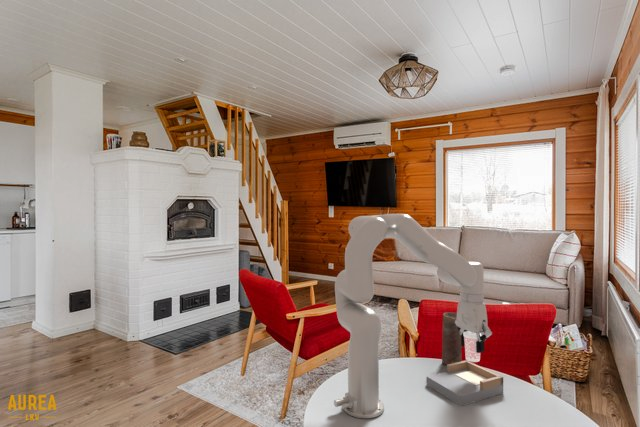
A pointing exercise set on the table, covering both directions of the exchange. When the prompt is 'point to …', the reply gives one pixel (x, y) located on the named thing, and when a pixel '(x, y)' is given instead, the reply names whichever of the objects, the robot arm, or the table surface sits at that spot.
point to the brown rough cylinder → (451, 340)
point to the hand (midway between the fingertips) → (472, 348)
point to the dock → (466, 383)
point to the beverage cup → (471, 346)
